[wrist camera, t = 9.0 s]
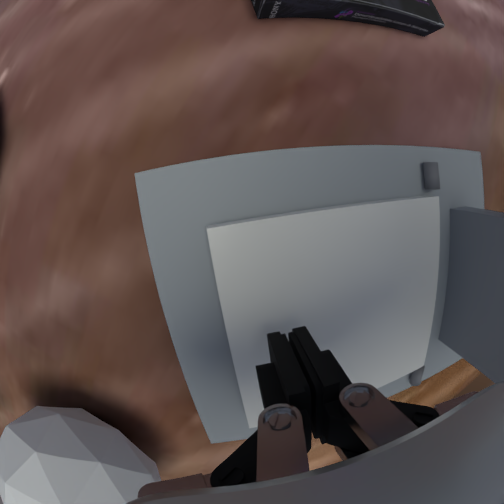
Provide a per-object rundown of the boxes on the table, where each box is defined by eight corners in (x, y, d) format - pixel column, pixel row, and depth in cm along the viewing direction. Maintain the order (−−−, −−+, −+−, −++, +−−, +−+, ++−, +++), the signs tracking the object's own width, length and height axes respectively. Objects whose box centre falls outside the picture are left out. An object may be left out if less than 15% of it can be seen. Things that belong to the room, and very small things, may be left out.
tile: (206, 228, 11) (206, 226, 12) (249, 428, 14) (246, 417, 15) (439, 196, 13) (427, 195, 14) (423, 365, 16) (415, 359, 17)
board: (469, 152, 15) (565, 153, 6) (455, 351, 19) (518, 400, 10) (141, 174, 13) (26, 156, 4) (210, 431, 17) (218, 539, 8)
